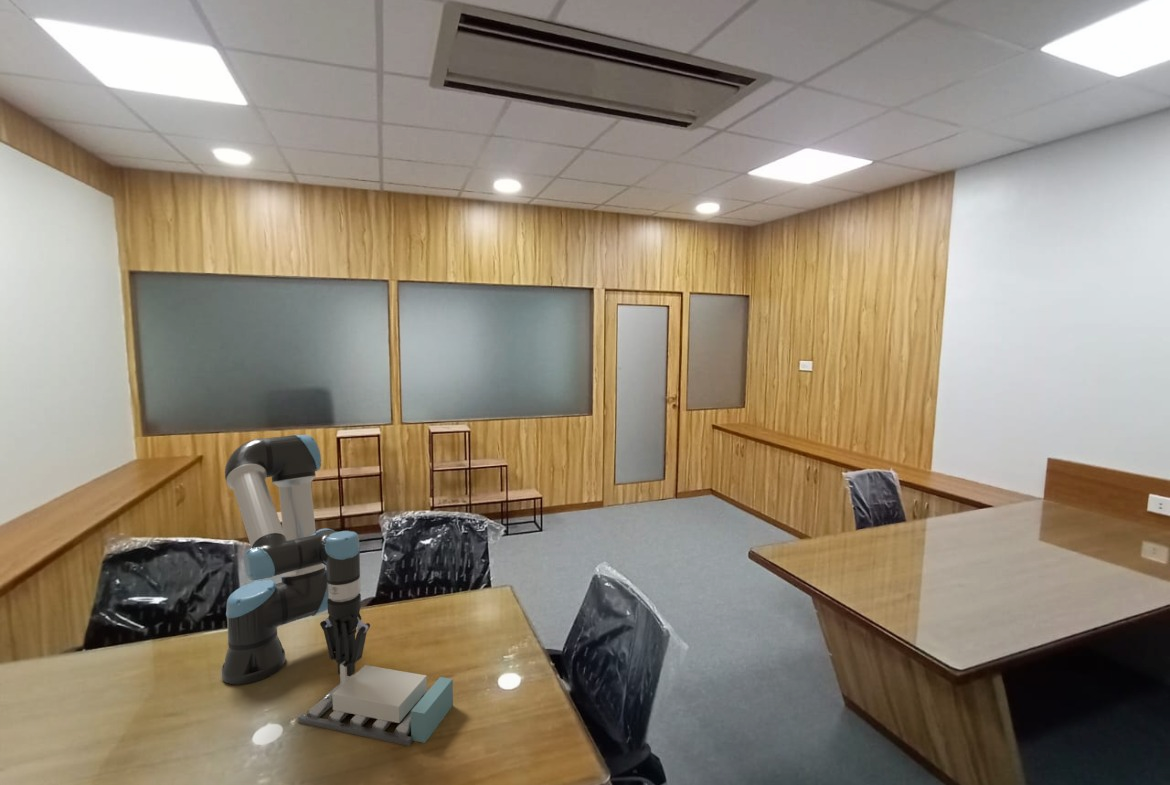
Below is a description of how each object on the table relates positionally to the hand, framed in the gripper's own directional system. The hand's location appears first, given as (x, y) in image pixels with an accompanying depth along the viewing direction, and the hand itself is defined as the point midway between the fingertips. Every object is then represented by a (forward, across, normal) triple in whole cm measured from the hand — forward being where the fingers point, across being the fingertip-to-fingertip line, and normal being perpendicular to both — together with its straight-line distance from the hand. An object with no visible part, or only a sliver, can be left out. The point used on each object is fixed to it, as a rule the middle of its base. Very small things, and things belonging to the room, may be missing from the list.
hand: (346, 686), depth 130 cm
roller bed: (+5, +8, 0) cm, 9 cm away
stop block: (+5, +24, 0) cm, 24 cm away
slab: (+2, +10, 0) cm, 10 cm away
